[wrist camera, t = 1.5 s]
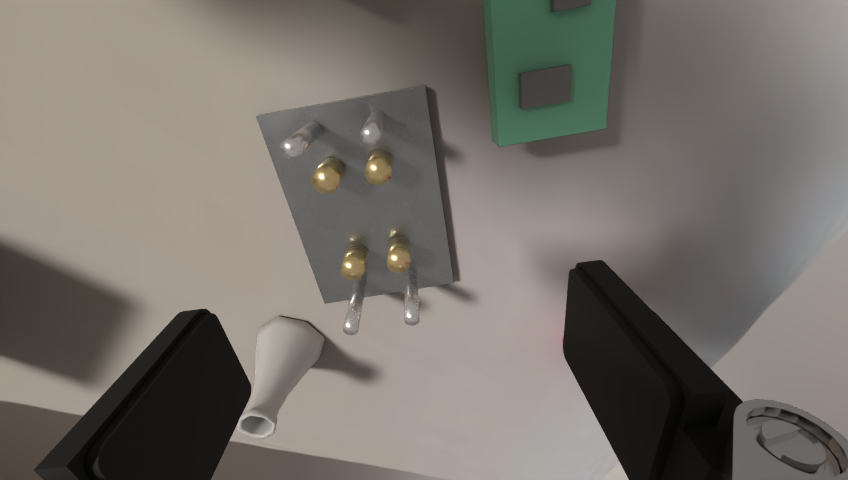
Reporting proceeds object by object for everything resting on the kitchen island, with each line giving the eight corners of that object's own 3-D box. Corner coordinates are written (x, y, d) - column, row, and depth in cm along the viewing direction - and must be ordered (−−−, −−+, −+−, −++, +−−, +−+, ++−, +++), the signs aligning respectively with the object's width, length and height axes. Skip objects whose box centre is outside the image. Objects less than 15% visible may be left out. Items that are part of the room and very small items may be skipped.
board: (477, -80, 19) (487, -99, 17) (605, -104, 19) (633, -127, 17) (492, 140, 25) (501, 148, 22) (591, 123, 24) (610, 130, 22)
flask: (274, 304, 36) (230, 385, 27) (336, 334, 38) (315, 417, 29) (245, 348, 38) (197, 435, 29) (305, 373, 41) (277, 462, 32)
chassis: (260, 114, 27) (214, 132, 21) (424, 85, 27) (431, 94, 20) (326, 297, 36) (308, 352, 29) (452, 277, 35) (463, 328, 29)
